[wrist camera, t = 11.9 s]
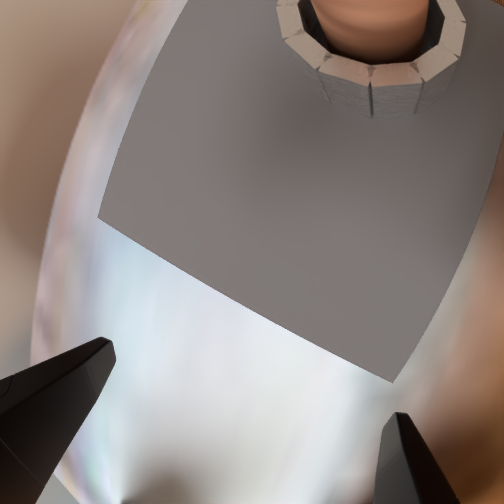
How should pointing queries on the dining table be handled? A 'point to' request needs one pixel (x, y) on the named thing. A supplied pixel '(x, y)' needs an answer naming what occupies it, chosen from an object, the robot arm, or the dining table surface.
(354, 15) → the terracotta plug
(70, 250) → the dining table surface
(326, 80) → the stone sleeve
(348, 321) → the charcoal mat
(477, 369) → the dining table surface
